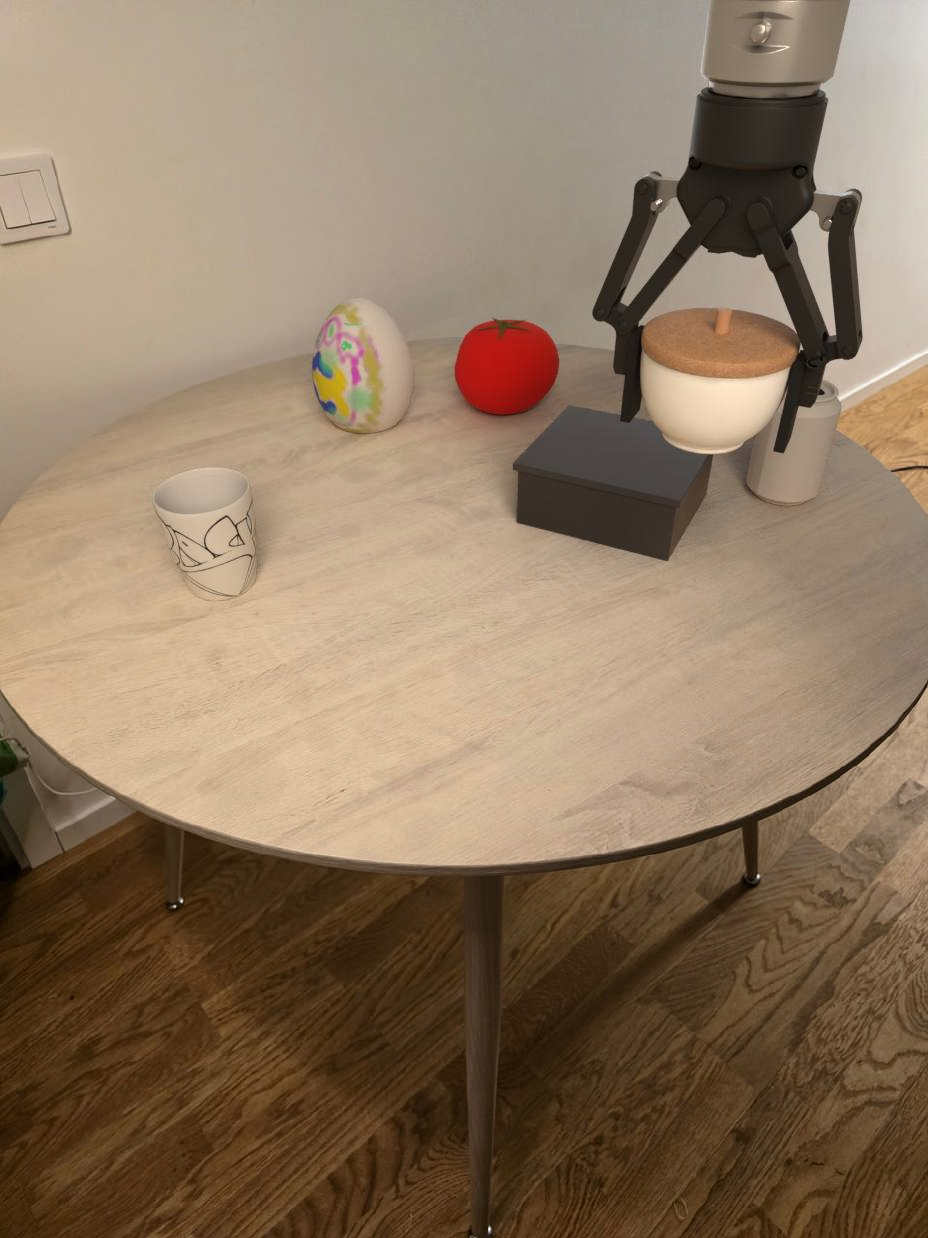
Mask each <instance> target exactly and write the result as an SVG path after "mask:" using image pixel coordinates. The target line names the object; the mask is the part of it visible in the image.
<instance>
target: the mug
mask: <svg viewBox="0 0 928 1238" xmlns="http://www.w3.org/2000/svg"><path fill="white" fill-rule="evenodd" d="M151 497H152V498H151V500H152V505H153V506H152V507H153V509H154V512H155V515H156V518H157V520H158V524H159V526H160V528H161V531H162V534H163V537H164V540H165V543H166V545H167V548H168V550H169V552H170V554H171V556H172V558H173V560H174V562H175V565H176V566H177V568H178V570H179V572H180V574H181V576H182V578H183V580H184V582H185V584H186V586H187V587H188V589H189V590H190V592H191V593H192V594H193V595H194V596H195V597H197V598H198V599H201V600H204V601H210V602H222V601H227V600H232V599H234V598H237V597H239V596H241V595H243V594H245V593H246V592H248V591H249V590H250V589H251V588H252V587H253V585H254V584H255V581H256V578H257V570H258V569H257V565H258V564H257V563H258V561H257V559H258V558H257V557H258V556H257V553H258V551H257V548H258V546H257V545H258V543H257V542H258V539H257V537H258V535H257V524H256V523H257V522H256V515H255V507H254V499H253V497H254V496H253V491H252V485H251V483H250V481H249V478H248V477H247V476H246V475H245V474H243V473H242V472H240V471H238V470H235V469H232V468H229V467H223V466H222V467H221V466H207V467H206V466H205V467H199V468H198V467H197V468H193V469H189V470H185V471H182V472H179V473H176V474H173V475H172V476H170V477H167V478H166V479H164V480H163V481H162V482H161V483H159V484H158V485H157V486H156V488H155V489H154V491H153V493H152V496H151Z"/></svg>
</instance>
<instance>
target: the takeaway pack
mask: <svg viewBox="0 0 928 1238" xmlns="http://www.w3.org/2000/svg"><path fill="white" fill-rule="evenodd" d="M620 416H621V414H619V413H613V412H608V411H603V410H598V409H593V408H588V407H582V406H577V405H572V404H568V406H567V407H565V408H564V409H563V411H562V412H561V413H560V414H559V415H558V416H557V417H556V418H554V420H553V421H552V422H551V423H550V424H549V425H548V426H547V427H546V428H545V429H544V430H543V431H542V432H541V433H540V435H539V436H538V437H537V438H535V439H534V441H533V442H532V443H531V444H530V445H528V447H527V448H526V449H525V450H524V451H523V452H522V453H521V454H520V455H519V456H518V457H517V459H515V460H514V462H513V463H512V470H513V471H515V472H517V497H516V499H517V501H516V523H517V524H520V525H526V526H528V527H532V528H536V529H540V530H544V531H549V532H552V533H556V534H559V535H563V536H564V535H565V536H568V537H572V538H576V539H579V540H583V541H587V542H591V543H595V544H600V545H603V546H607V547H612V548H615V549H620V550H623V551H626V552H631V553H635V554H639V555H643V556H647V557H651V558H654V559H658V560H662V561H666V562H668V561H669V559H670V558H671V556H672V555H673V553H674V551H675V550H676V548H677V545H678V544H679V542H680V540H681V539H682V537H683V535H684V533H685V532H686V530H687V528H688V527H689V525H690V523H691V522H692V520H693V518H694V517H695V514H696V512H697V511H698V510H699V508H700V507H701V504H702V502H703V501H704V499H705V497H706V496H707V493H708V487H709V481H710V476H711V470H712V465H713V460H714V454H701V453H694V452H689V451H685V450H682V449H680V448H677V447H675V446H673V445H671V444H670V443H668V442H667V441H666V440H665V439H664V438H663V435H662V432H661V431H660V430H659V429H658V428H657V426H656V425H655V424H654V423H653V421H652V420H651V419H645V418H639V417H634V418H633V419H632V420H631V422H630V423H627V422H622V421H620Z"/></svg>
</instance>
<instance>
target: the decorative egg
mask: <svg viewBox="0 0 928 1238" xmlns="http://www.w3.org/2000/svg"><path fill="white" fill-rule="evenodd" d="M311 362H312V363H311V365H312V366H311V373H312V383H313V388H314V393H315V396H316V398H317V401H318V403H319V405H320V407H321V409H322V411H323V412H324V414H325V415H326V416H327V418H328V419H329V420H330V421H331V422H332V423H333V424H334V425H335V426H336V427H338V428H339V429H341V430H343V431H345V432H348V433H353V434H364V435H365V434H375V433H379V432H384V431H387V430H389V429H392V428H393V427H395V426H396V425H397V424H398V423H399V422H400V421H401V420H402V418H403V417H404V416H405V414H406V412H407V411H408V409H409V406H410V404H411V400H412V399H413V393H414V388H415V386H414V385H415V370H414V369H415V368H414V364H413V358H412V354H411V350H410V347H409V344H408V342H407V339H406V337H405V336H404V334H403V331H402V330H401V328H400V326H399V325H398V324H397V322H396V321H395V319H394V318H393V317H392V316H391V315H390V313H388V312H387V311H386V309H384V308H383V307H382V306H381V305H380V304H378V303H377V302H375V301H373V300H371V299H368V298H365V297H358V296H357V297H351V298H350V297H349V298H348V299H345V300H343V301H342V302H340V303H339V304H337V305H336V306H335V307H334V308H333V309H332V310H331V311H330V313H329V314H328V315H327V316H326V318H325V320H324V322H323V323H322V325H321V327H320V329H319V331H318V333H317V337H316V340H315V344H314V348H313V353H312V361H311Z"/></svg>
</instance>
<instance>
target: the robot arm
mask: <svg viewBox="0 0 928 1238" xmlns="http://www.w3.org/2000/svg"><path fill="white" fill-rule="evenodd" d="M850 3H851V0H709V3H708V10H707V18H706V25H705V34H704V40H703V48H702V55H701V64H700V71H699V73H700V75H701V76H702V78H703V79H704V80H706V81H708V83H707V84H708V85H707V86H706V87H704V88H702V89H701V90H700V93H698V94H697V95H696V99H695V107H694V114H693V122H692V128H691V136H690V143H689V151H688V152H689V153H688V159H687V164H686V168H685V170H684V172H683V174H682V176H681V177H675V176H674V177H673V176H663V175H662V173H660V171H657V170H653V171H650V172H649V173H647V174H645V175H644V176H643V177H641V178H640V179H639V180H637V181H636V183H635V184H634V187H633V199H632V211H631V218H630V220H629V222H628V223H627V227H626V229H625V231H624V234H623V236H622V238H621V241H620V244H619V246H618V248H617V251H616V253H615V255H614V258H613V261H612V263H611V265H610V268H609V269H608V272H607V275H606V277H605V279H604V282H603V284H602V285H601V289H600V291H599V293H598V296H597V298H596V301H595V303H594V305H593V307H592V311H591V315H592V317H593V320H595V321H596V322H599V323H602V322H604V323H606V324H608V325H610V326H611V327H612V328H613V329H614V331H615V342H614V344H615V345H614V352H613V353H614V354H613V363H612V369H613V371H614V374H615V375H620V376H624V378H623V379H624V380H623V387H622V389H623V390H622V399H621V406H620V407H621V409H620V415H621V416H620V421H622V422H627V423H630V422H631V420H632V419H633V418H635V417H636V415H637V414H638V413H639V411H640V410H641V407H642V401H643V399H642V393H641V384H640V363H641V353H642V345H641V338H642V331H643V328H644V326H645V325H643V324H640V321H641V320H642V319H643V317H644V316H645V315H646V314H647V313H648V311H649V310H650V309H651V308H652V306H653V305H654V304H655V303H656V302H657V301H658V299H659V298H660V297H661V295H662V294H663V293H664V291H665V290H666V289H667V288H668V287H669V285H670V284H671V283H672V282H673V281H674V280H675V278H676V277H677V276H678V274H679V273H680V272H681V271H682V269H683V268H684V267H685V266H686V265H687V264H688V262H689V261H690V260H691V258H692V257H693V256H694V255H695V253H697V251H698V250H699V249H700V248H701V246H702V247H703V248H704V249H706V250H707V253H710V254H718V255H719V254H726V253H733V254H736V255H739V256H741V257H744V258H751V259H756V258H757V257H758V256H763V258H764V260H765V263H766V265H767V268H768V270H769V271H770V272H771V273H772V275H773V277H774V279H775V282H776V284H777V287H778V289H779V291H780V294H781V297H782V299H783V302H784V305H785V307H786V309H787V312H788V315H789V317H790V319H791V322H792V325H793V326H794V331H795V332H796V333H797V335H798V337H799V340H800V343H801V347H802V349H800V350H799V354H798V356H797V358H796V360H795V362H794V364H793V368H792V372H791V376H790V381H789V385H788V389H787V394H786V398H785V402H784V406H783V411H782V415H781V419H780V424H779V428H778V432H777V437H776V441H775V445H774V449H773V452H778V453H783V454H784V452H785V450H786V448H787V445H788V443H789V441H790V439H791V435H792V431H793V427H794V423H795V419H796V415H797V411H798V407H799V406H801V407H807V408H811V407H812V406H813V404H814V403H815V401H816V399H817V397H818V395H819V391H820V387H821V383H822V379H823V378H824V375H825V373H826V372H825V371H826V367H827V365H828V364H829V363H830V362H832V361H836V360H844V361H849V360H853V359H854V358H855V357H856V356H857V355H858V353H859V350H860V348H861V345H862V342H863V338H864V335H863V334H864V333H863V322H862V321H863V320H862V310H861V298H860V286H859V285H860V284H859V274H858V272H859V271H858V262H857V250H856V238H855V227H856V223H857V219H858V216H859V212H860V209H861V206H862V201H863V194H862V192H861V191H860V190H859V189H857V188H849V189H847V190H845V192H838V191H829V190H820V189H818V188H817V186H816V183H815V179H814V169H815V163H816V159H817V155H818V150H819V145H820V140H821V135H822V131H823V127H824V123H825V118H826V112H827V108H828V104H829V98H828V97H827V96H826V95H827V93H826V92H825V91H824V90H822V89H821V86H822V84H825V83H827V82H828V81H830V80H831V79H832V78H833V77H834V76H835V72H836V67H837V62H838V57H839V53H840V48H841V44H842V40H843V35H844V31H845V26H846V23H847V22H846V21H847V18H848V17H847V16H848V12H849V8H850ZM674 198H676V199H677V201H678V204H679V206H680V207H681V210H682V212H683V214H684V216H685V218H686V220H687V222H688V224H689V225H690V226H689V227H687V230H686V231H684V233H683V234H682V235H681V237H680V238H679V239H678V241H677V242H676V243H675V245H674V246H673V248H672V249H671V251H670V252H669V253H668V255H667V256H666V257H665V258H664V259H663V261H662V262H661V264H659V266H658V267H657V269H656V270H655V271H654V272H653V273H652V275H651V276H650V277H649V278H648V280H647V282H645V284H644V285H643V286H642V288H641V289H640V290H639V291H638V293H637V294H636V295H635V297H634V298H633V299H632V300H631V302H630V303H629V304H628V305H626V304H625V303H623V302H622V300H623V297H624V295H625V293H626V291H627V288H628V286H629V284H630V281H631V279H632V276H633V275H634V272H635V270H636V268H637V266H638V263H639V261H640V259H641V257H642V254H643V252H644V250H645V247H646V245H647V243H648V241H649V238H650V236H651V234H652V232H653V229H654V227H655V224H656V222H657V221H658V217H659V214H661V213H662V212H664V211H665V210H666V209H668V208H669V206H670V204H671V201H672V200H673V199H674ZM810 211H811V212H814V213H815V214H816V215H817V217H818V226H819V228H820V229H821V230H822V231H823V232H827V233H828V237H827V255H828V264H829V276H830V285H831V297H832V306H833V317H834V328H835V334H833V335H830V333H829V330H828V327H827V324H826V323H825V320H824V317H823V315H822V312H821V309H820V307H819V305H818V301H817V299H816V297H815V294H814V291H813V288H812V286H811V283H810V281H809V279H808V275H807V272H806V269H805V267H804V265H803V263H802V259H801V257H800V253H799V246H798V243H797V241H796V238H795V236H794V233H793V231H792V229H794V227H795V226H796V225H797V224H798V223H799V222H800V221H801V220H802V219H803V218H805V216H806V215H807V214H808V213H810ZM639 324H640V325H639ZM823 380H824V379H823Z"/></svg>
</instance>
